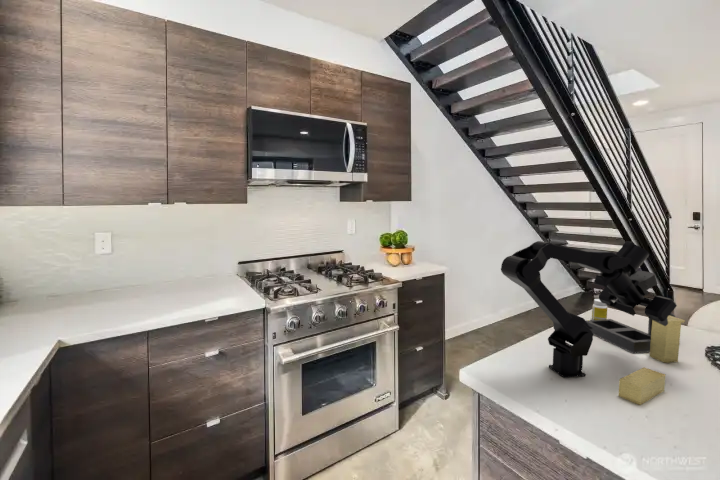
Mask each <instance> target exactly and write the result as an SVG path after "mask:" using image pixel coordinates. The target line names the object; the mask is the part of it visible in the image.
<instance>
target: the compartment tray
mask: <svg viewBox="0 0 720 480" xmlns="http://www.w3.org/2000/svg"><path fill="white" fill-rule="evenodd" d="M585 321H586V322H587V324H588V325H589V326H590V327H592V329H590V330H591V331H592V332H593V336H595V337H597V338H600V340H601V339H602V340H603V341H604V340H605V341H606V342H608V343H610V344H612V345H614V346H617V347H618V348H621V349H623V350H625V351H627V352H628V353H631V354H643V353H645V354H646V353H650V343H651V335H650V334H648V332H644V331H642V330H640V329H637V328H636V327H635V328H634V327H632V326H630V325H627V324H624V323H622V322H620V321H617V320H614V319H611V318H607V319H603V320H592V319H590V320H585Z"/></svg>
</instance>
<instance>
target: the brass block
mask: <svg viewBox="0 0 720 480" xmlns="http://www.w3.org/2000/svg"><path fill="white" fill-rule="evenodd" d="M667 319H668V324H667V325H666V326H664V325H661V324H659V323H657V322H655V321H653V320H652V331H651V343H650V352H649V357H650V358H653V359H655V360H657V361H659V362H661V363H663V364H670V363H678V362H679V353H680V352H679V351H680V342H681V341H680V340H681V330H682V329H681V328H682V324H683V323H685V322H686V320H685V319H682V318H680V317H679V318H678V317H676V316H675V317H673V316H670V315H669V316H668V317H667Z"/></svg>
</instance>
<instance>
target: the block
mask: <svg viewBox="0 0 720 480" xmlns="http://www.w3.org/2000/svg"><path fill="white" fill-rule="evenodd" d="M618 383H619V384H618V395H617V396H618V397H619V398H621V399H625V400H627V401H628V402H632V403H634V404H635V405H636V404H637V405H638V406H641V405H643V404H645V403H647V402H648V401H650V400H652V399H653V398H655V397H657V396H658V395H660V394H661V393H664V392H665V386H666V385H665V384H666V374H665V373H662V372H659V371H656V370H653V369H649V368H647V367H646V366H644V367H641V368H640V369H637V370H635V371H634V372H631V373H629V374H627V375H625V376H623V377H622V378H619V382H618Z"/></svg>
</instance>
